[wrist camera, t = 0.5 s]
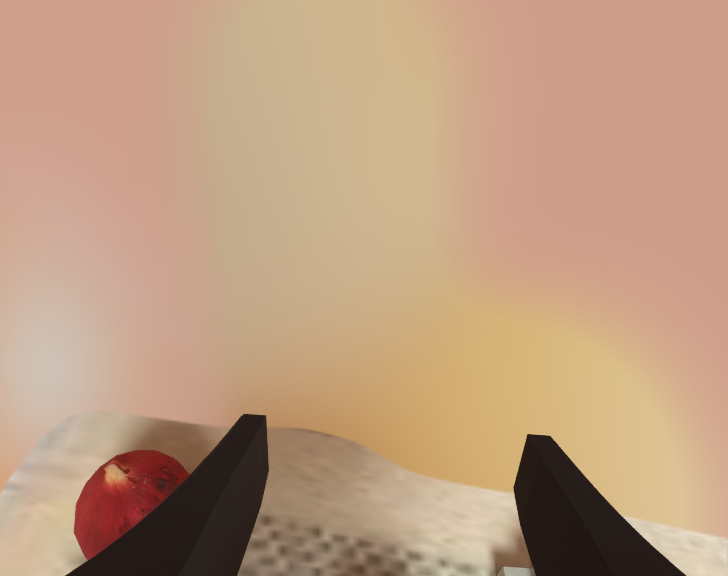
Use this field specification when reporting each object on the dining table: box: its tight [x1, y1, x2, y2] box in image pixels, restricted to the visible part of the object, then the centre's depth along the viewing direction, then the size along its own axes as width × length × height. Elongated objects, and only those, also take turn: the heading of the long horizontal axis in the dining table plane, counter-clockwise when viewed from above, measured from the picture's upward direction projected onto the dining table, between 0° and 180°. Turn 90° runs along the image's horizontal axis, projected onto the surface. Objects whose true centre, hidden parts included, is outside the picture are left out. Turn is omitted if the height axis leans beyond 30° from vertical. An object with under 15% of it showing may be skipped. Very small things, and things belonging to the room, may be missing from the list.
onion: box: [74, 450, 190, 560], centre depth 25 cm, size 6×6×8 cm
